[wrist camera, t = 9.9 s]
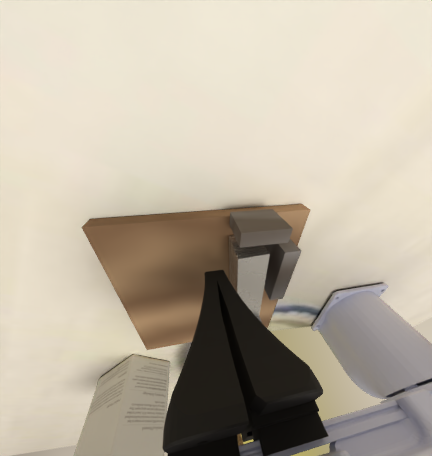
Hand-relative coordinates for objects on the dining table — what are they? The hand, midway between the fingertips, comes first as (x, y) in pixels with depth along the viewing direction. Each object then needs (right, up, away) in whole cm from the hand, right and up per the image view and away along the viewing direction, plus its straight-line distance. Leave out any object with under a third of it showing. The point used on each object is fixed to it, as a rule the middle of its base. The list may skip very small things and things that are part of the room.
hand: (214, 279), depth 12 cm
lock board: (-1, -2, +4) cm, 5 cm away
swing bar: (+2, 0, +2) cm, 3 cm away
